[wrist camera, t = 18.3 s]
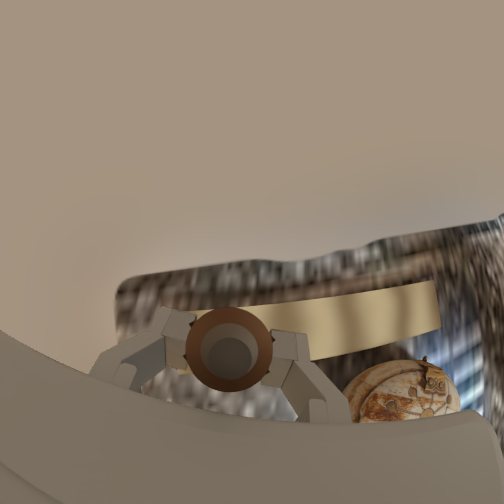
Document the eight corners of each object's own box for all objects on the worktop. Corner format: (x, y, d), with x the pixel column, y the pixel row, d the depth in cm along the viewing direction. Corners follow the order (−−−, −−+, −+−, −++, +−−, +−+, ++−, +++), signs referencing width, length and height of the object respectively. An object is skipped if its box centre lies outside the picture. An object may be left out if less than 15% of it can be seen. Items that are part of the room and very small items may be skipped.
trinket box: (436, 425, 26) (474, 435, 18) (340, 473, 24) (368, 502, 16) (426, 337, 29) (468, 332, 22) (323, 377, 27) (354, 388, 20)
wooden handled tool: (250, 318, 17) (292, 281, 6) (255, 364, 16) (307, 414, 5) (202, 322, 17) (154, 292, 6) (207, 369, 16) (168, 427, 5)
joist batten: (422, 284, 31) (433, 279, 29) (429, 329, 29) (441, 327, 27) (177, 314, 28) (172, 312, 25) (182, 371, 26) (178, 374, 24)
